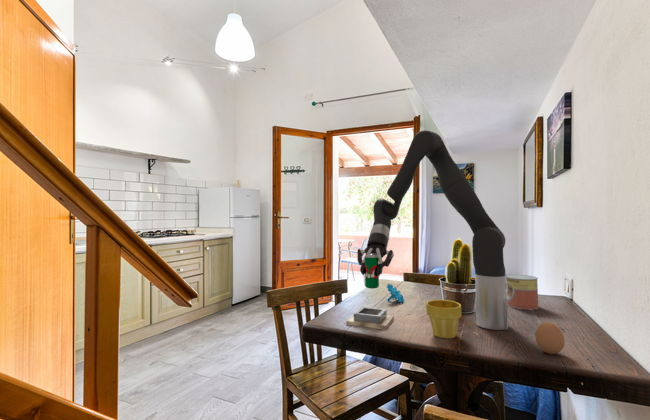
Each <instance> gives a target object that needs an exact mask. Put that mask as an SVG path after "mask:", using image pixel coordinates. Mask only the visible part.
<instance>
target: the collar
mask: <svg viewBox="0 0 650 420" xmlns="http://www.w3.org/2000/svg"><path fill="white" fill-rule="evenodd" d="M353 315H354V321H360V322H368V323H376V324H381V322H382V321H383V320H384V319H385V318H386V317H387V315H388V311H387V309H386V308H377V307H366V306H360V308H358V309H357V310H356V311H355V312H354V313H353Z"/></svg>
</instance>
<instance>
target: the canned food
mask: <svg viewBox="0 0 650 420" xmlns="http://www.w3.org/2000/svg"><path fill="white" fill-rule="evenodd" d="M505 278H506V300H507V307H510V308H513V309H516V308H517V310H522V309H529V310H528V311H531V310H530V309H536V310H538V309H539V308H538V307H539V292H538V291H539V288H538V277H537V276H532V275H526V274H507V275H506V274H505ZM537 308H538V309H537Z"/></svg>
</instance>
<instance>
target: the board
mask: <svg viewBox="0 0 650 420" xmlns="http://www.w3.org/2000/svg"><path fill="white" fill-rule="evenodd" d="M394 319H395V317H394V315H390V314H389V315H388V314H387V317H386V318H385V319H384V320H383V321H382V322H381V324H376V323H368V322H360V321H354V314H353V315H351V317H349V318H348V319H347V320H346V321H345V322H346V325H347V326H355V327H361V328H362V327H364V328H369V329H370V328H371V329H379V330H385V331H386V330H387V329H388V328H389V327H390V325H391V324H392V323H393V321H394Z"/></svg>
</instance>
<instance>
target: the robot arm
mask: <svg viewBox="0 0 650 420" xmlns="http://www.w3.org/2000/svg"><path fill="white" fill-rule="evenodd" d="M425 157H426V158H427V159H428V160H429V162H430V163H431V165H432V166H433V168H434V169H435V172H436V175H437V178H438V183H439V187H440V190H441V191H442V193H443V195H444V196H445V197H446V199H447V201H448V202H449V204H450V205H451V206H452V207H453V208H454V209H455V211H456V212H457V213H458V214H459V215H460V216H461V217H462V218H463V219H464V220H465V221H466V224H468V226H469V228H470V230H471V232H472V233H473V236H472V247H471V248H472V263H473V267H474V278H475V280H474V281H475V282H474V283H475V288H474V289H475V321H476V322H475V323H476V325H477V327H481V328H483V329H488V330H495V331H496V330H497V331H501V330H507V331H508V330H509V327H508V326H509V325H508V323H509V321H508V319H509V318H508V306H507V295H506V267H505V262H504V260H505V259H504V248H505V246H506V237H505V234H504V233H503V232H502V230H501V229H500V228H499V227H498V226H497V225H496V223H495V222H494V220H493V219H492V218H491V217H490V216H489V215H488V213H487V211H486V210H485V208H484V206H483V204H482V202H481V200H480V198H479V197H478V195H477V194H476V192H475V190H474V188H473V186H472V185H471V183H470V182H469V180H468V179H467V177H466V176H465V174H464V173H463V172H462V170H461V169H460V168H459V166H458V165H457V163H456V162H455V161H454V159H453V158H452V156H451V154H450V153H449V150H448V148H447V147H446V145H445V143H444V140H443V138H442V137H441V136H440V134H438V133H436V132H434V131H431V130H426V129H425V130H424V129H423V130H420V131H418V132H417V133H416V134H415V135H414V136H413V138H412V140H411V142H410V145H409V148H408V150H407V153H406V155H405V157H404V158H403V159H404V160H403V161H402V164H401V166H400V168H399V170H398V172H397V174H396V176H395V178H394V179H393V181H392V182H391V184H390V185H389V187H388V190H387V192H386V194H387V196H388V197H389V198H390V199H392V200H393V202H391V201H389V200H387V199H385V198H378V199H377V200H376V201H374V204H373V208H372V209H373V223H372V228H371V230H370V232H369V236H368V240H367V244H366V247H365V248H364V249H361V248H359V249H357V259H356V260H357V262H358V265H359V266H360V269H359V270H360V271H359V272H360V273H361V275H362V276H363V275H364V276H365V254H378V257H379V264H378V267H377V276H379V277H380V275H382V273H383V268H384V267H387V268H388V267H389V266H390V265H391V262H392V260H393V258H394V255H395V254H394V251H393V250H392V249H389V250H387V249H388V245H389V240H390V231H391V228H392V221H393V220H394V219H396V218H397V216H398V215H399V211H400V207H401V204H402V201H403V199H404V198H405V195H406V194H407V192H408V191H409V190H410V187H411V186H412V183H413V180H414V179H415V174H416V171H417V168H418V166H419V164H420V163H421V162H422V160H423V159H424V158H425ZM385 256H386V257H385ZM384 257H385V259H384ZM383 259H384V260H383Z"/></svg>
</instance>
